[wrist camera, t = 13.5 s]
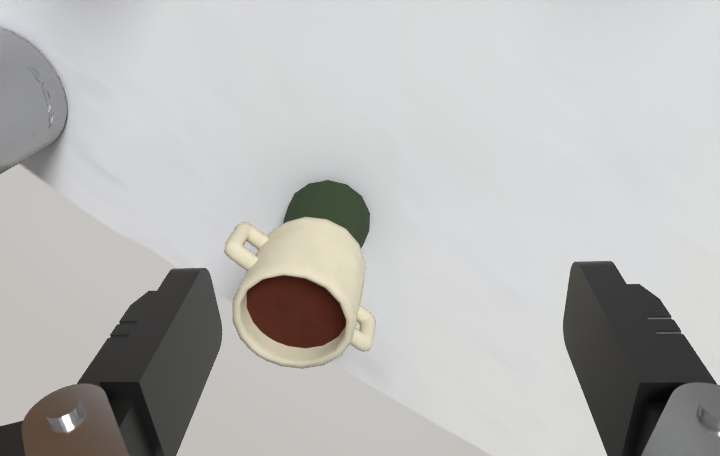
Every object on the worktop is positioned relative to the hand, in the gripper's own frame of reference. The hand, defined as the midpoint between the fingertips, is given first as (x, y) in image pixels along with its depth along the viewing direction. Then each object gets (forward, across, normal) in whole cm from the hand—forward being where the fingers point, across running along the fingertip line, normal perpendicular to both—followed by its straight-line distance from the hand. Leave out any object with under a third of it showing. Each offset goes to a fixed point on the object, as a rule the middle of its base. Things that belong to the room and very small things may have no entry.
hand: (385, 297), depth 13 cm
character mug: (+27, +5, +12) cm, 30 cm away
